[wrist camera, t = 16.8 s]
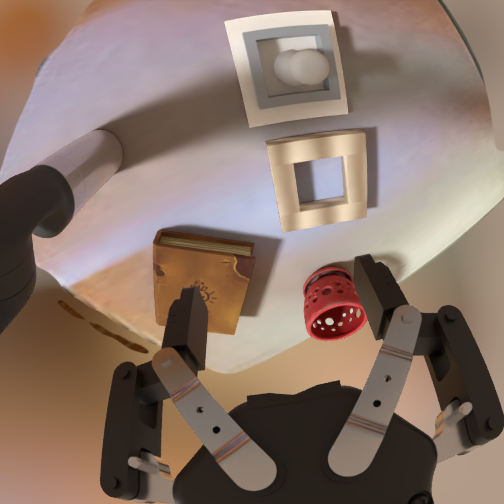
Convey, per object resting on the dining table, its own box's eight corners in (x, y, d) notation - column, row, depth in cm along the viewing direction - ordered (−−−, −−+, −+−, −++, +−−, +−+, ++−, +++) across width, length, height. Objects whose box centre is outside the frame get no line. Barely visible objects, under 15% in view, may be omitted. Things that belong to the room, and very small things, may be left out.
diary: (159, 227, 51) (151, 244, 47) (253, 241, 54) (255, 259, 50) (159, 307, 65) (155, 325, 60) (234, 317, 68) (234, 335, 63)
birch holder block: (280, 223, 51) (282, 232, 49) (265, 141, 42) (267, 146, 40) (361, 209, 50) (366, 217, 48) (358, 128, 41) (365, 132, 38)
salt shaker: (303, 47, 31) (330, 38, 21) (314, 80, 35) (345, 85, 24) (266, 56, 32) (277, 48, 22) (278, 90, 36) (294, 96, 25)
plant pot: (297, 265, 58) (308, 308, 48) (355, 258, 57) (375, 297, 48) (297, 306, 66) (305, 347, 56) (348, 299, 65) (362, 337, 56)
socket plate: (249, 126, 40) (250, 131, 37) (224, 22, 30) (223, 17, 26) (345, 112, 39) (355, 117, 36) (328, 11, 28) (336, 6, 25)
